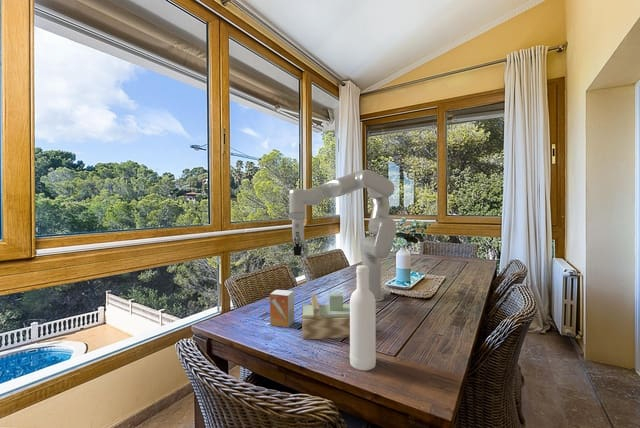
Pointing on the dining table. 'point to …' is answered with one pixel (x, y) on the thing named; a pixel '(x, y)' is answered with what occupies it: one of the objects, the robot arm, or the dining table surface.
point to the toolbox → (325, 327)
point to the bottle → (362, 323)
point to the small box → (282, 308)
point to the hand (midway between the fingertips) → (297, 253)
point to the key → (315, 306)
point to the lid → (329, 308)
